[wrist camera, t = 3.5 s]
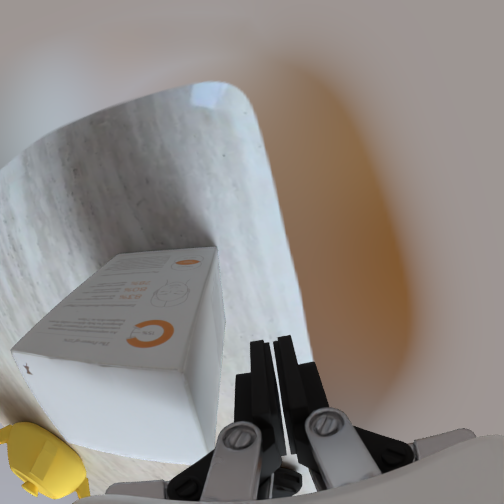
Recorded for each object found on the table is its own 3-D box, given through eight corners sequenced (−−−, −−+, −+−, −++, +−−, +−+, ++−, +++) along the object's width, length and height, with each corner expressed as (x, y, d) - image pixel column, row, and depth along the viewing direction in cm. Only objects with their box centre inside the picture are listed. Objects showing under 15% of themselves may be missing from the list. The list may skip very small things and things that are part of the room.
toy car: (195, 489, 31) (192, 513, 27) (272, 457, 28) (275, 489, 23) (231, 500, 33) (231, 523, 28) (309, 470, 30) (314, 498, 25)
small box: (133, 324, 22) (65, 444, 9) (116, 252, 20) (4, 347, 7) (228, 322, 22) (215, 470, 9) (219, 244, 20) (182, 369, 7)
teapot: (61, 426, 27) (31, 483, 16) (109, 480, 32) (94, 528, 21) (1, 405, 28) (-28, 446, 16) (46, 459, 32) (28, 498, 21)
